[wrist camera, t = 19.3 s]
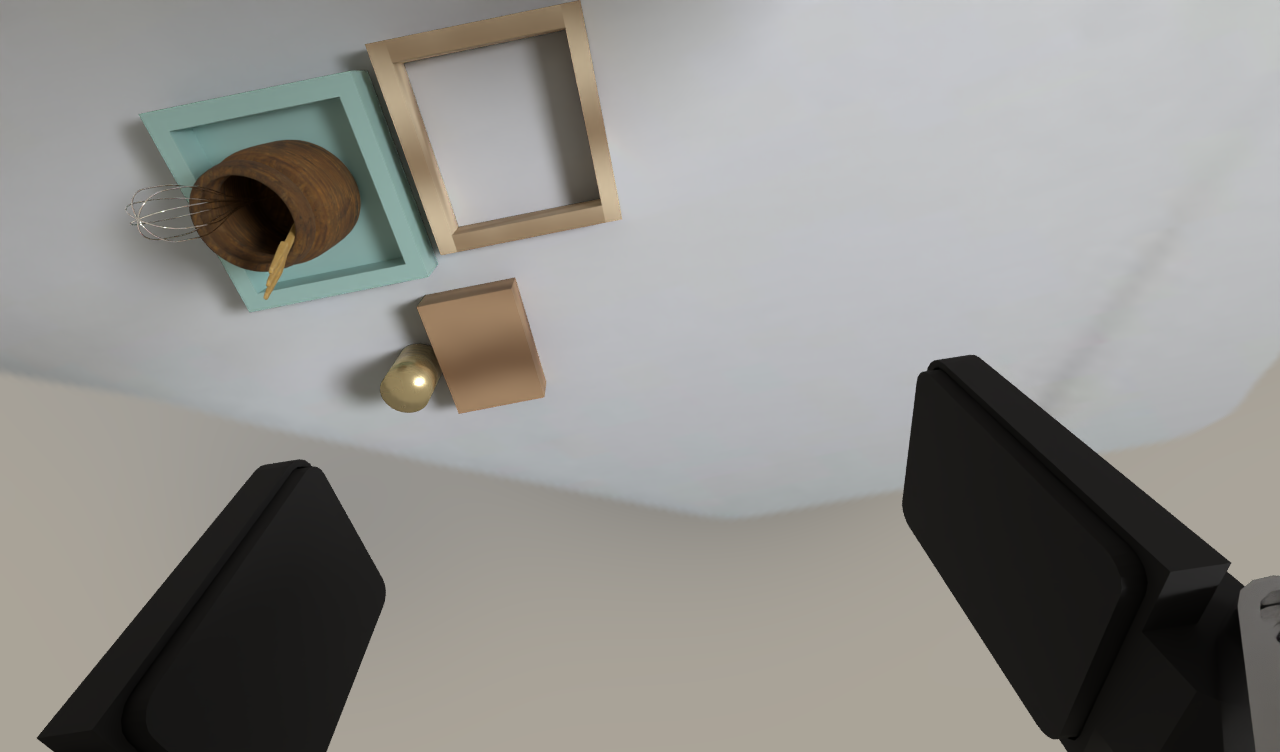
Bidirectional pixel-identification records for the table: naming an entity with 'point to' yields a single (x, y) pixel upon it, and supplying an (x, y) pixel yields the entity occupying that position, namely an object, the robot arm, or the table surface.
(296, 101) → the tray
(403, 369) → the cylinder
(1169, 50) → the table surface
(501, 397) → the board
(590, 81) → the wooden square frame
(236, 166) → the utensil holder
